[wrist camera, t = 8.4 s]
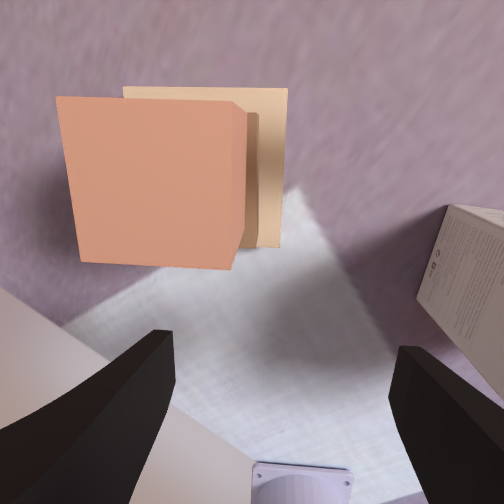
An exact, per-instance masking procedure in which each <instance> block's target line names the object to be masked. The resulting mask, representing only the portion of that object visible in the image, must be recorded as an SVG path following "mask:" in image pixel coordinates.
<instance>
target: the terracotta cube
mask: <svg viewBox="0 0 504 504" xmlns="http://www.w3.org/2000/svg"><path fill="white" fill-rule="evenodd" d="M55 97H56V104H57V110H58V116H59V123H60V129H61V136H62V142H63V149H64V155H65V162H66V168H67V174H68V181H69V187H70V194H71V200H72V207H73V213H74V220H75V226H76V233H77V239H78V245H79V252H80V258H81V262H94V263H112V264H129V265H147V266H164V267H182V268H199V269H217V270H231V267H232V264H233V261H234V258H235V255H236V252H237V250H238V247H239V244H240V241H241V238H242V235H243V232H244V229H245V193H246V153H247V112H245V111H244V110H243V109H242V108H240V107H239V106H238V105H236V104H235V103H234V102H233V101H212V100H176V99H140V98H104V97H68V96H55Z"/></svg>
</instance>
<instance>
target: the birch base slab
mask: <svg viewBox="0 0 504 504" xmlns="http://www.w3.org/2000/svg"><path fill="white" fill-rule="evenodd" d="M123 94H124V98H140V99H176V100H212V101H233V102H234V103H235V104H236V105H238V106H239V107H240V108H242V109H243V110H244V111H245V112H247V113H249V112H256V113H257V114H259V230H258V239H257V245H256V247H269V248H280V234H281V214H282V194H283V174H284V154H285V134H286V114H287V94H288V88H214V87H123Z"/></svg>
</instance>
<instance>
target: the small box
mask: <svg viewBox="0 0 504 504" xmlns="http://www.w3.org/2000/svg"><path fill="white" fill-rule="evenodd" d="M416 299H417V301H418V302H419V303H420V304H421V306H422V307H423V308H424V309H425V310H426V312H427V313H428V314H429V315H430V316H431V317H432V318H433V319H434V321H435V322H436V323H437V324H438V325H439V326H440V328H441V329H442V330H443V331H444V332H445V333H446V335H447V336H448V337H449V338H450V339H451V340H452V342H453V343H454V344H455V345H456V346H457V347H458V349H459V350H460V351H461V352H462V353H463V354H464V356H465V357H466V358H467V359H468V360H469V361H470V362H471V364H472V365H473V366H474V367H475V368H476V369H477V370H478V372H479V373H480V374H481V375H482V376H483V378H484V379H485V380H486V381H487V382H488V384H489V385H490V386H491V387H492V388H493V389H494V390H495V392H496V393H497V394H498V395H499V396H500V397H501V398H502V400H503V401H504V211H503V210H496V209H489V208H482V207H474V206H467V205H458V204H450V205H449V206H448V208H447V211H446V214H445V217H444V220H443V222H442V225H441V228H440V231H439V234H438V237H437V240H436V242H435V245H434V248H433V251H432V254H431V257H430V260H429V263H428V266H427V268H426V271H425V274H424V277H423V280H422V283H421V286H420V289H419V292H418V294H417V298H416Z"/></svg>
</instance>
